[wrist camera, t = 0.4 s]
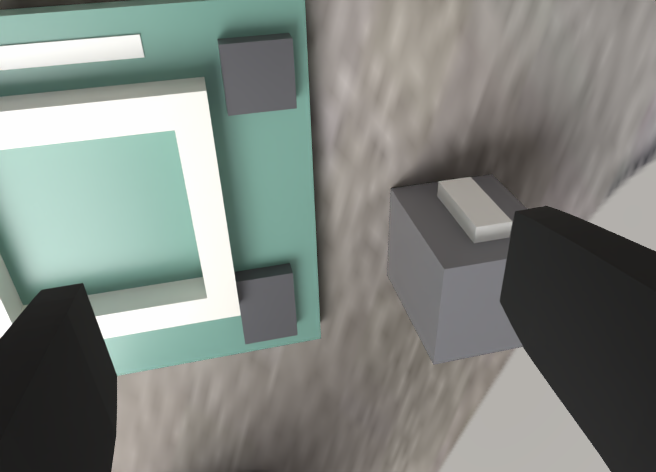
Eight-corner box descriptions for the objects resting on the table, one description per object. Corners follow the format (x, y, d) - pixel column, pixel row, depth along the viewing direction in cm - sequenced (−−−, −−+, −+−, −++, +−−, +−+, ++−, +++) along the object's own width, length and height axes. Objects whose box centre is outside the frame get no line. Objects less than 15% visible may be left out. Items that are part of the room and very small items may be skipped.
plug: (478, 259, 23) (542, 342, 19) (387, 274, 23) (433, 364, 19) (494, 159, 21) (571, 232, 17) (391, 173, 20) (446, 252, 16)
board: (316, 325, 23) (327, 359, 22) (6, 380, 21) (-8, 423, 20) (299, -12, 16) (313, 2, 14) (-178, 22, 14) (-225, 44, 12)
